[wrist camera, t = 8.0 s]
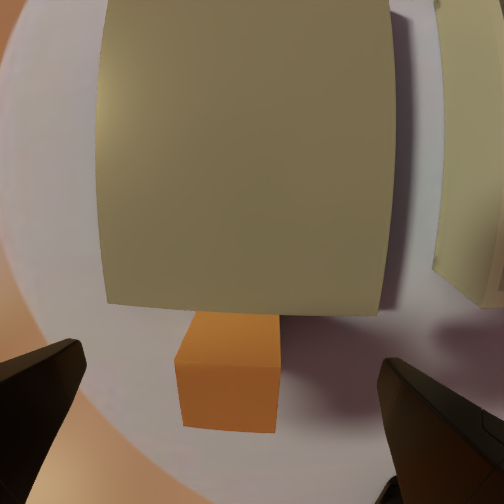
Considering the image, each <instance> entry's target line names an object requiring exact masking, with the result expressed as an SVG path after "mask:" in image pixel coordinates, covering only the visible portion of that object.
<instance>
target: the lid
mask: <svg viewBox="0 0 504 504" xmlns="http://www.w3.org/2000/svg"><path fill="white" fill-rule="evenodd" d="M395 147H396V86H395V63H394V48H393V36H392V25H391V16H390V7H389V0H108V5H107V11H106V17H105V24H104V31H103V38H102V46H101V55H100V64H99V75H98V89H97V106H96V140H95V159H96V194H97V212H98V226H99V238H100V248H101V257H102V266H103V274H104V282H105V289H106V295H107V302H108V303H109V304H119V305H129V306H140V307H151V308H163V309H176V310H190V311H197V312H196V314H195V316H194V318H193V320H192V322H191V324H190V326H189V329H188V331H187V333H186V335H185V337H184V339H183V341H182V344H181V346H180V348H179V350H178V352H177V354H176V357H175V359H174V364H175V372H176V380H177V387H178V394H179V401H180V407H181V414H182V420H183V426H187V427H195V428H203V429H213V430H224V431H237V432H255V433H275V429H276V418H277V408H278V397H279V386H280V374H281V350H280V323H279V315H302V316H377V313H378V308H379V302H380V296H381V290H382V284H383V278H384V271H385V264H386V257H387V249H388V241H389V232H390V223H391V212H392V201H393V187H394V171H395Z"/></svg>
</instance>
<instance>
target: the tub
mask: <svg viewBox="0 0 504 504" xmlns="http://www.w3.org/2000/svg"><path fill="white" fill-rule="evenodd" d="M434 7H435V12H436V19H437V25H438V32H439V40H440V48H441V58H442V69H443V83H444V105H445V151H444V173H443V188H442V200H441V210H440V219H439V228H438V235H437V242H436V249H435V256H434V262H433V268H432V269H433V270H434V271H435V272H437V273H438V274H439V275H440V276H442V277H443V278H444V279H445V280H447V281H448V282H449V283H450V284H452V285H453V286H454V287H455V288H457V289H458V290H459V291H460V292H461V293H463V294H464V295H465V296H466V297H467V298H469V299H470V300H471V301H472V302H473V303H475V304H476V305H477V306H478V307H479V308H481V309H487V308H501V307H504V0H434Z"/></svg>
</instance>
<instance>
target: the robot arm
mask: <svg viewBox="0 0 504 504" xmlns="http://www.w3.org/2000/svg"><path fill="white" fill-rule="evenodd" d="M86 367H87V363H86V358H85V355H84V351H83V347H82V344H81V342H80V341H79V340H76V339H71V338H68V339H65V340H62V341H59V342H57V343H54V344H51V345H48V346H46V347H43V348H40V349H37V350H35V351H32V352H29V353H26V354H24V355H21V356H18V357H15V358H13V359H10V360H7V361H4V362H1V363H0V504H25V503H26V500H27V498H28V496H29V493H30V491H31V489H32V486H33V484H34V482H35V480H36V477H37V475H38V473H39V471H40V468H41V466H42V464H43V462H44V460H45V458H46V456H47V453H48V451H49V449H50V447H51V445H52V443H53V441H54V439H55V437H56V435H57V433H58V431H59V429H60V427H61V425H62V423H63V421H64V419H65V417H66V415H67V413H68V411H69V409H70V407H71V405H72V403H73V400H74V398H75V395H76V393H77V390H78V388H79V385H80V383H81V380H82V378H83V375H84V373H85V371H86ZM377 390H378V395H379V401H380V407H381V412H382V419H383V425H384V430H385V434H386V438H387V441H388V445H389V448H390V452H391V455H392V459H393V463H394V466H395V470H396V474H397V477H395V478H392V479H390V480H389V481H388V482H387V484H386V486H385V487H384V489H383V491H382V492H381V494H380V496H379V497H378V499H377V501H376V502H375V504H504V421H503V420H501V419H499V418H497V417H496V416H494V415H492V414H490V413H489V412H487V411H486V410H484V409H483V410H482V409H481V408H480V407H479V406H477V405H475V404H474V403H472V402H470V401H469V400H467V399H465V398H464V397H462V396H460V395H459V394H457V393H455V392H454V391H452V390H450V389H449V388H447V387H445V386H444V385H442V384H440V383H439V382H437V381H436V380H434V379H432V378H431V377H429V376H427V375H426V374H424V373H422V372H421V371H419V370H417V369H416V368H414V367H413V366H411V365H409V364H408V363H406V362H404V361H403V360H401V359H399V358H397V357H395V358H385V359H384V360H383V362H382V366H381V370H380V374H379V377H378V381H377Z"/></svg>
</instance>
